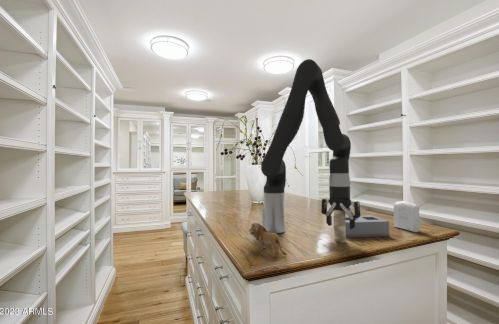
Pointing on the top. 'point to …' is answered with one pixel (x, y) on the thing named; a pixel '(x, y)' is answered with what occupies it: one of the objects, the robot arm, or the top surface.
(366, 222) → the hole block
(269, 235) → the lion figurine
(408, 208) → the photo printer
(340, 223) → the pin
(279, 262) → the top surface
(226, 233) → the top surface
